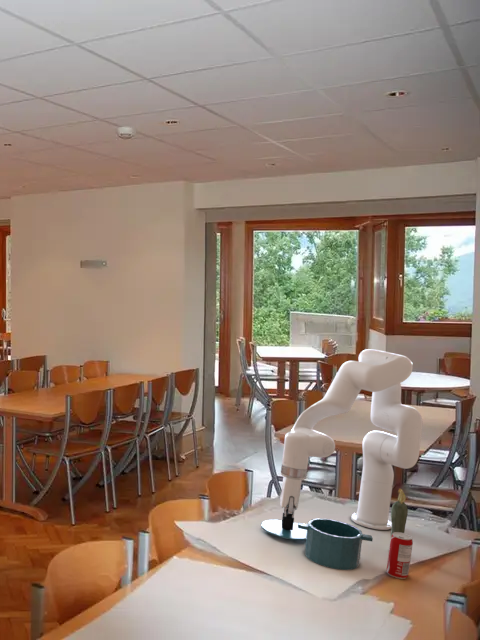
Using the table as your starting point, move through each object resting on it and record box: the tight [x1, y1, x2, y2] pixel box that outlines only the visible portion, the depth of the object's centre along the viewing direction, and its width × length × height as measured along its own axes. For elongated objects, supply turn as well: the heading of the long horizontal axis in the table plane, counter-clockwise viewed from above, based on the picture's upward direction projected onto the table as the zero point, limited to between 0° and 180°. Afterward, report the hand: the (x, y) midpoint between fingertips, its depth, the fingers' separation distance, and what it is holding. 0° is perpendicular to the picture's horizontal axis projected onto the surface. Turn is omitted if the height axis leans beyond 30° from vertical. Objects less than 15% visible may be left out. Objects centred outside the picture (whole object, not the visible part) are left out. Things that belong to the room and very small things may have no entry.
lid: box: [260, 518, 307, 541], centre depth 237 cm, size 16×16×7 cm
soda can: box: [385, 532, 414, 580], centre depth 211 cm, size 6×6×12 cm
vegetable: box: [390, 488, 409, 537], centre depth 227 cm, size 4×4×20 cm
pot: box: [297, 518, 374, 571], centre depth 220 cm, size 15×20×10 cm
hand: (287, 527), depth 237 cm, fingers closed on lid, 2 cm apart
